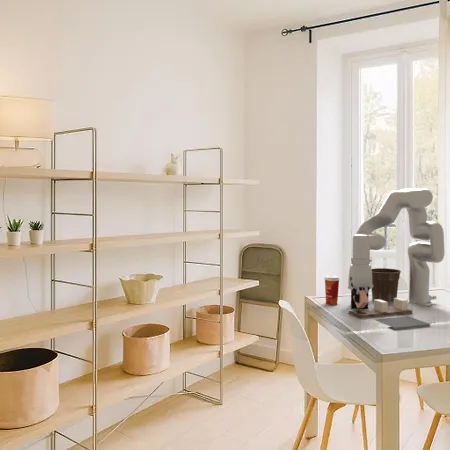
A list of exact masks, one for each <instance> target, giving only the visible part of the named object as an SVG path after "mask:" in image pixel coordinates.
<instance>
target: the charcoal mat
mask: <svg viewBox="0 0 450 450" xmlns="http://www.w3.org/2000/svg"><path fill="white" fill-rule="evenodd" d="M374 321H377V322H378V323H382V324H384V325H386V326H387V328H389V329H391V330H393V331H399V330H410V329H420V328H426V327H427V328H429V327H431V324H430V323H428V322H425V321H423V320H419V319H417V318H414V317H411V316H409V315H405V316H397V317H396V316H395V317H387V318H386V317H384V318H375V319H374Z"/></svg>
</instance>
